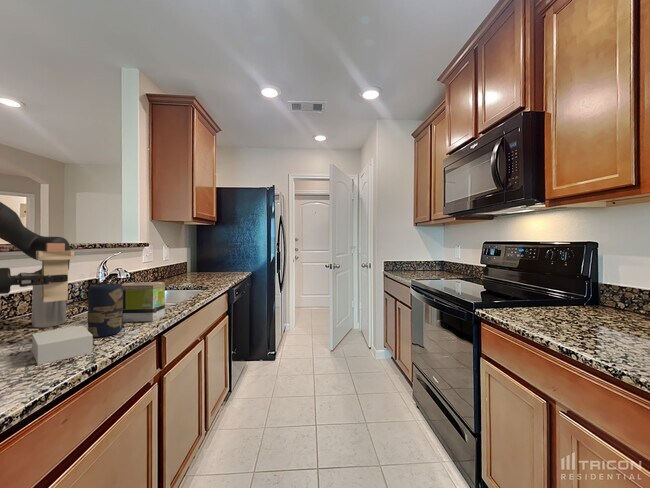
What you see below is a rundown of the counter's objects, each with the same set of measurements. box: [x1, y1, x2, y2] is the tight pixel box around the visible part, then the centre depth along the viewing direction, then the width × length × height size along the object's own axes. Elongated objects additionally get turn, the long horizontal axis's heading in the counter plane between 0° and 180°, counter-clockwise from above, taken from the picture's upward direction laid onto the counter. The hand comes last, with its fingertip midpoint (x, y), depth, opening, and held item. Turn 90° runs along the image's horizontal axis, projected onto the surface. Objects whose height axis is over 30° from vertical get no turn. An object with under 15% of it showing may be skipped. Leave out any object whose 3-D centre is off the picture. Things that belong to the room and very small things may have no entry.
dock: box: [31, 325, 94, 366], centre depth 81 cm, size 14×11×5 cm
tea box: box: [121, 281, 166, 323], centre depth 117 cm, size 15×10×15 cm, turn 93°
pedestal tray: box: [36, 250, 75, 302], centre depth 91 cm, size 8×8×16 cm
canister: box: [87, 281, 124, 338], centre depth 97 cm, size 10×10×18 cm
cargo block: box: [46, 243, 65, 252], centre depth 91 cm, size 4×4×4 cm
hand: (65, 277), depth 93 cm, fingers closed on pedestal tray, 5 cm apart
